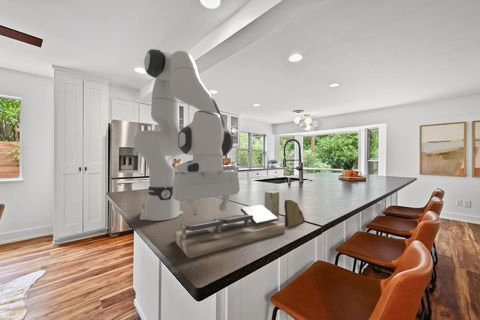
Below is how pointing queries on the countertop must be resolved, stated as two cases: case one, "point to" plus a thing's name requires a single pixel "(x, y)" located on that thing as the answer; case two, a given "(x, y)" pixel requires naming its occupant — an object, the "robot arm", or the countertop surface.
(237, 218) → the panel
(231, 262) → the countertop surface
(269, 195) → the skincare box
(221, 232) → the switch panel
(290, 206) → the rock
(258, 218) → the rocker
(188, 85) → the robot arm
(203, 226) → the panel
